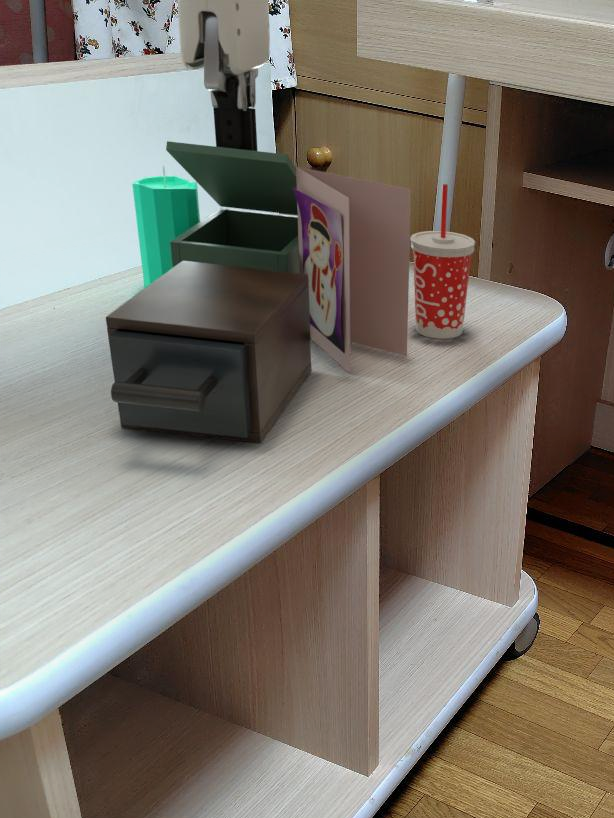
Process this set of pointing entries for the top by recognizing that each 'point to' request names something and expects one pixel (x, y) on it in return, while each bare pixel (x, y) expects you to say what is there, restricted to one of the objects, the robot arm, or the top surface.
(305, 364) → the cabinet
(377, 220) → the greeting card
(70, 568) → the top surface
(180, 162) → the chest lid
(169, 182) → the candle
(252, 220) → the chest
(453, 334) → the beverage cup
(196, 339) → the drawer
